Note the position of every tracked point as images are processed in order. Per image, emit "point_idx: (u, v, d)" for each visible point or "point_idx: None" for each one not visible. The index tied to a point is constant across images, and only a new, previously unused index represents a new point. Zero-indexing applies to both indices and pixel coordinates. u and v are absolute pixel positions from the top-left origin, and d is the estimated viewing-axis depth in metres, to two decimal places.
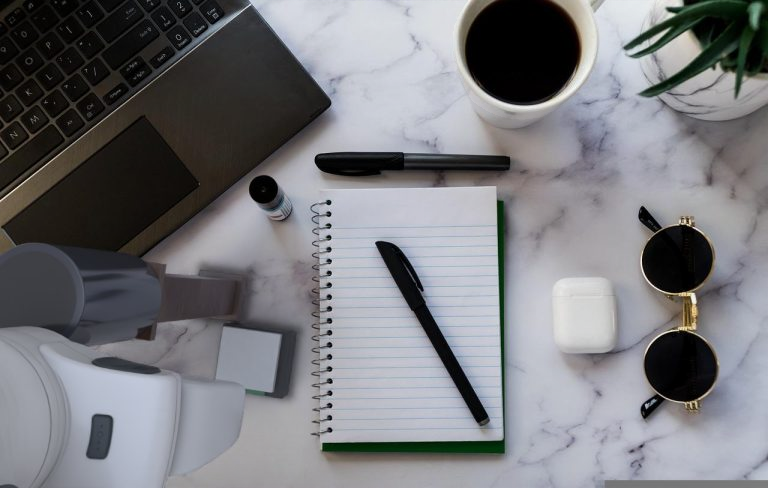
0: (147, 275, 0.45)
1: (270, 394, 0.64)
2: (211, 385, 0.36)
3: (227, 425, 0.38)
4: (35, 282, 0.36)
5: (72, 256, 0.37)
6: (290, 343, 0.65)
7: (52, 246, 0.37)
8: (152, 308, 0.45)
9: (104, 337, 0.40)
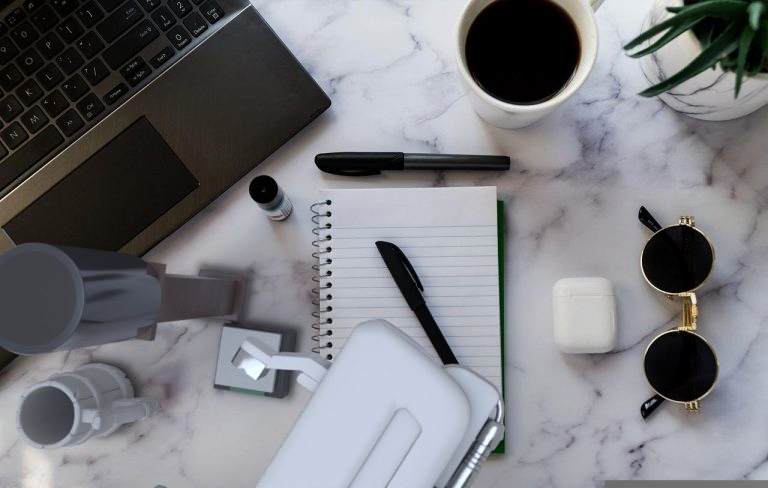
0: (147, 275, 0.45)
1: (270, 394, 0.64)
2: None
3: None
4: (35, 282, 0.36)
5: (72, 256, 0.37)
6: (290, 343, 0.65)
7: (52, 246, 0.37)
8: (152, 308, 0.45)
9: (104, 337, 0.40)
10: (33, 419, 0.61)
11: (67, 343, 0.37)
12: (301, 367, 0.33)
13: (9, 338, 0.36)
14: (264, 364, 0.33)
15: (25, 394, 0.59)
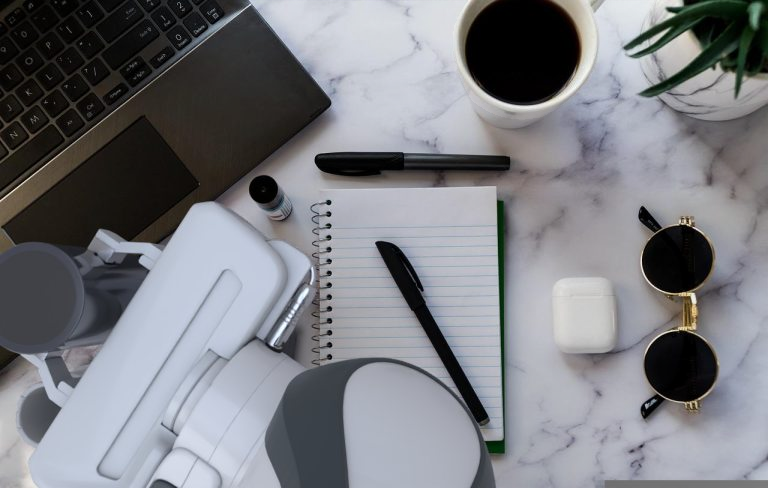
0: None
1: None
2: None
3: None
4: (35, 281, 0.36)
5: (72, 255, 0.37)
6: (290, 343, 0.65)
7: (52, 245, 0.37)
8: None
9: (104, 336, 0.40)
10: (33, 419, 0.61)
11: (67, 342, 0.37)
12: (142, 250, 0.39)
13: (9, 337, 0.36)
14: (113, 249, 0.40)
15: (25, 394, 0.59)
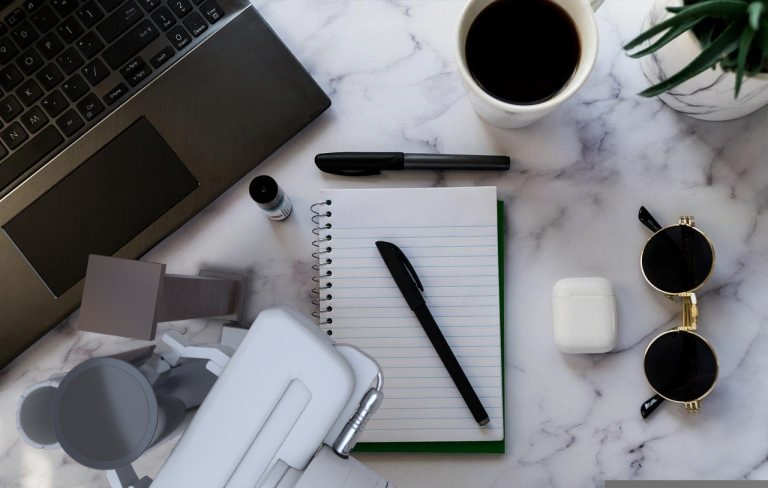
0: None
1: None
2: None
3: None
4: (107, 396, 0.36)
5: (143, 369, 0.37)
6: None
7: (124, 360, 0.37)
8: None
9: (170, 439, 0.40)
10: (33, 419, 0.61)
11: (140, 457, 0.37)
12: (209, 356, 0.39)
13: (82, 453, 0.36)
14: (180, 353, 0.40)
15: (25, 394, 0.59)
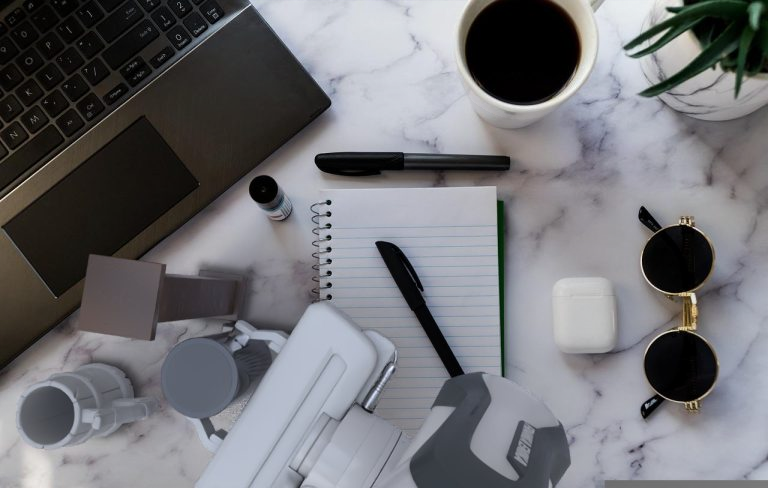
0: (264, 348, 0.59)
1: None
2: None
3: None
4: (201, 365, 0.51)
5: (227, 346, 0.51)
6: None
7: (213, 340, 0.51)
8: None
9: (241, 400, 0.55)
10: (33, 419, 0.61)
11: (224, 409, 0.51)
12: (271, 338, 0.54)
13: (183, 406, 0.51)
14: (249, 336, 0.54)
15: (25, 394, 0.59)
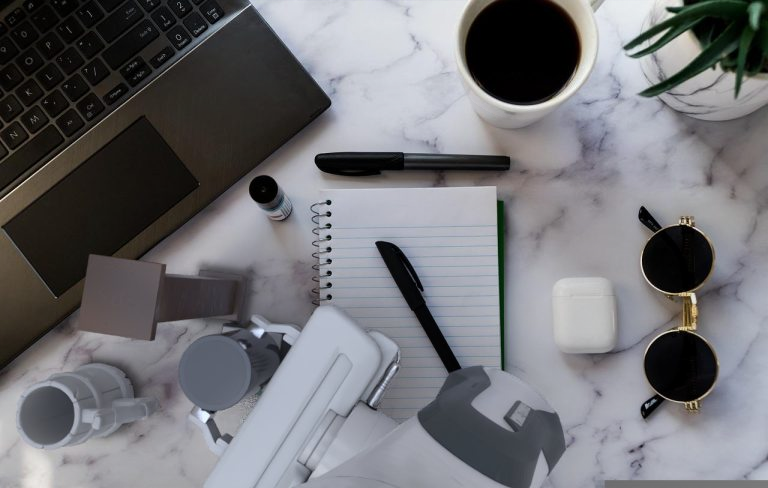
0: (273, 346, 0.62)
1: None
2: None
3: None
4: (217, 361, 0.54)
5: (241, 343, 0.55)
6: None
7: (228, 337, 0.54)
8: None
9: (252, 394, 0.58)
10: (33, 419, 0.61)
11: (238, 402, 0.54)
12: (285, 331, 0.57)
13: (200, 399, 0.54)
14: (264, 329, 0.57)
15: (25, 394, 0.59)
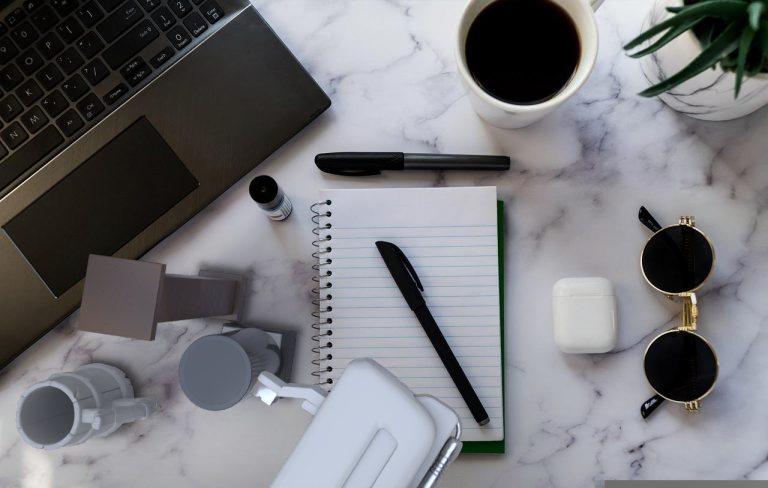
0: (273, 346, 0.62)
1: None
2: None
3: None
4: (217, 361, 0.54)
5: (241, 343, 0.55)
6: (290, 343, 0.65)
7: (228, 337, 0.54)
8: (277, 369, 0.62)
9: (252, 394, 0.58)
10: (33, 419, 0.61)
11: (238, 402, 0.54)
12: (305, 395, 0.42)
13: (200, 399, 0.54)
14: (276, 393, 0.42)
15: (25, 394, 0.59)
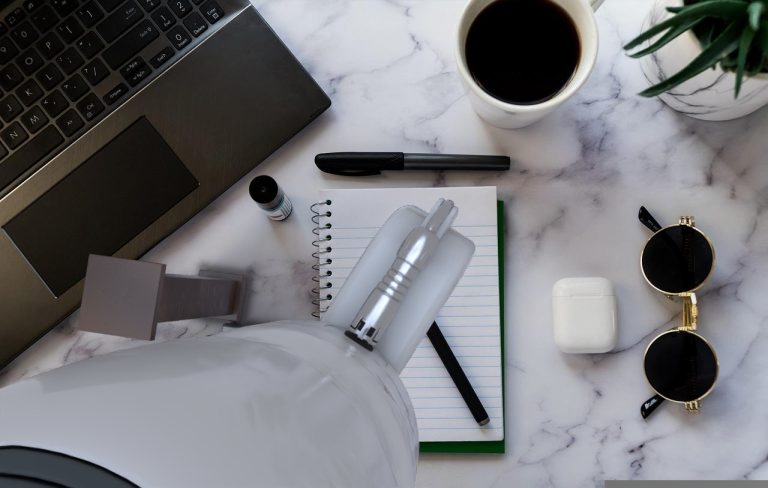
0: None
1: None
2: None
3: None
4: None
5: None
6: None
7: None
8: None
9: None
10: None
11: None
12: None
13: None
14: None
15: None
